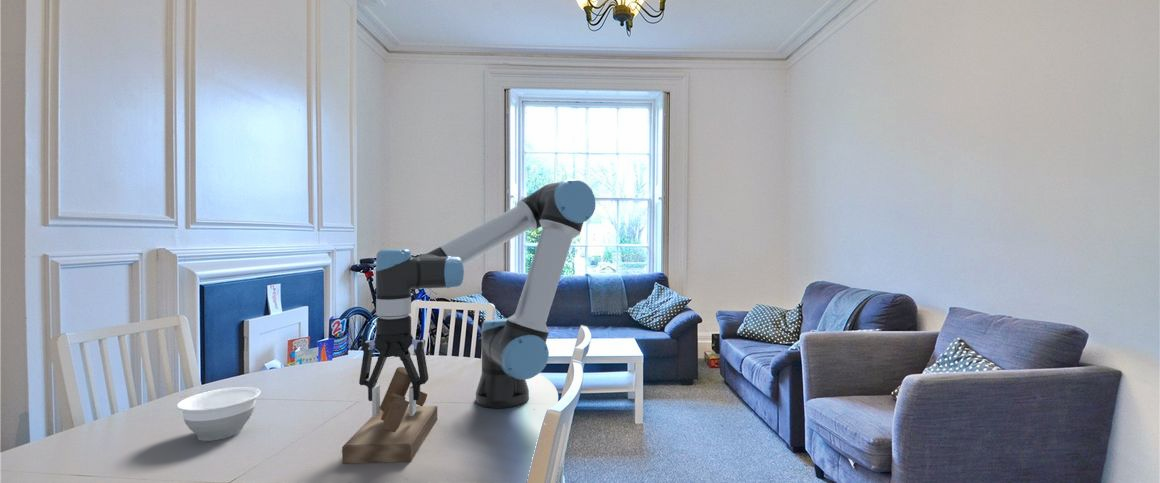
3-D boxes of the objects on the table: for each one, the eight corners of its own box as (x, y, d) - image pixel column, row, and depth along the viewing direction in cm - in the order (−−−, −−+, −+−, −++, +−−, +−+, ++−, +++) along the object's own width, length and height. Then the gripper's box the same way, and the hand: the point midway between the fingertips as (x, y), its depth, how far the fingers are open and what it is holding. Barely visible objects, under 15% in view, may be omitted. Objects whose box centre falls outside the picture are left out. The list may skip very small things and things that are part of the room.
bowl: (276, 424, 117) (276, 390, 117) (207, 452, 102) (207, 413, 102) (232, 416, 122) (231, 383, 122) (160, 442, 107) (159, 405, 107)
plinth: (437, 419, 120) (437, 405, 119) (410, 461, 98) (410, 444, 98) (381, 420, 119) (381, 406, 119) (342, 463, 97) (342, 446, 97)
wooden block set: (399, 443, 100) (418, 399, 99) (361, 428, 99) (379, 384, 99) (422, 408, 118) (438, 371, 117) (390, 395, 117) (406, 358, 117)
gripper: (442, 312, 112) (443, 407, 112) (355, 313, 111) (356, 408, 111) (434, 318, 104) (435, 419, 105) (341, 319, 103) (341, 421, 104)
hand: (394, 413), depth 108 cm, fingers closed on wooden block set, 8 cm apart
